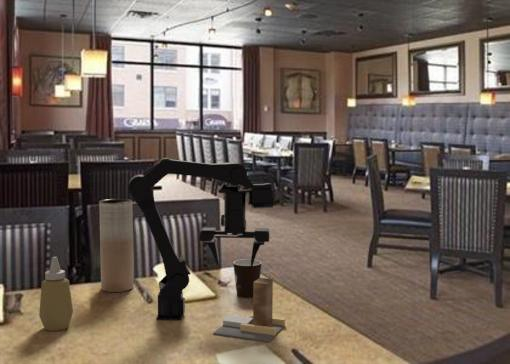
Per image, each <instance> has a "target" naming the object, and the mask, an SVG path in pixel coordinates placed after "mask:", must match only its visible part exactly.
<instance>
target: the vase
mask: <svg viewBox="0 0 510 364" xmlns="http://www.w3.org/2000/svg"><path fill="white" fill-rule="evenodd" d="M98 203H99V240H100V241H99V243H100V244H99V246H100V247H99V249H100V287H101V290H102V292H106V293H123V292H127V291H130V289H131V290H132V289H133V288H134V232H133V229H134V228H133V227H134V225H133V223H134V222H133V220H134V219H133V217H134V215H133V200H132V199H126V198H109V199H101V200H99V202H98Z"/></svg>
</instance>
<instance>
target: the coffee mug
mask: <svg viewBox="0 0 510 364" xmlns="http://www.w3.org/2000/svg"><path fill="white" fill-rule="evenodd" d="M232 265H233V272H234V280H235V283H234V284H235V290H236V296H237V297H239V298H245V299H246V298H247V299H249V298H250V299H252V298H253V282H254V281H256V280H257V279H259V278H261V270H262V261H261V260H259V259H255V260H254V263H253V266H251V258H245V259H244V258H243V259H236V260H234V261H233V264H232Z"/></svg>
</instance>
